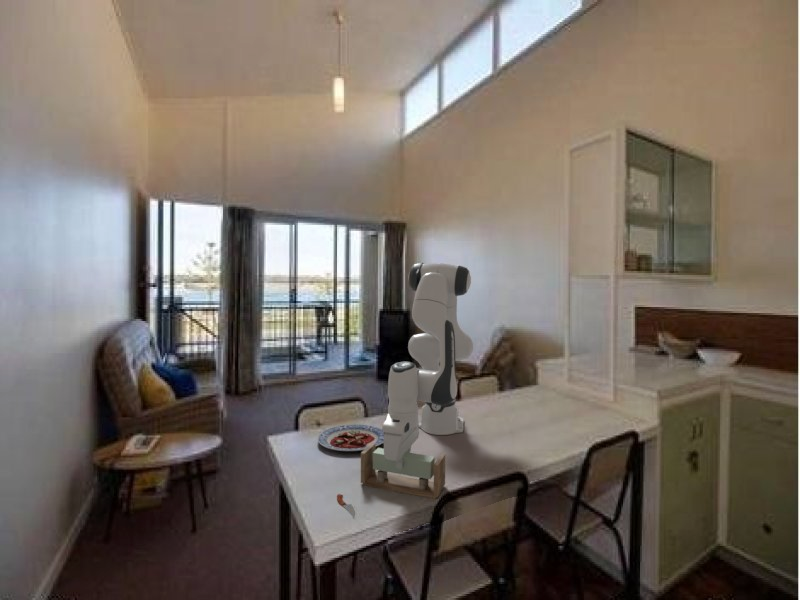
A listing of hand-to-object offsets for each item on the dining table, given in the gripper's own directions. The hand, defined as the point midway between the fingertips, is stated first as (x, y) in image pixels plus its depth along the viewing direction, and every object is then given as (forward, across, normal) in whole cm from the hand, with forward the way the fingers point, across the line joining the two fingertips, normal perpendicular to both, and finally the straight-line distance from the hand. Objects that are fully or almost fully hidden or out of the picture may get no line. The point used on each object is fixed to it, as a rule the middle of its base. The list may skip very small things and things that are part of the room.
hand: (402, 464), depth 127 cm
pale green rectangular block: (+2, 0, 0) cm, 2 cm away
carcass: (+6, 0, 0) cm, 6 cm away
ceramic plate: (+7, -25, -29) cm, 39 cm away
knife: (+7, +16, -10) cm, 20 cm away
